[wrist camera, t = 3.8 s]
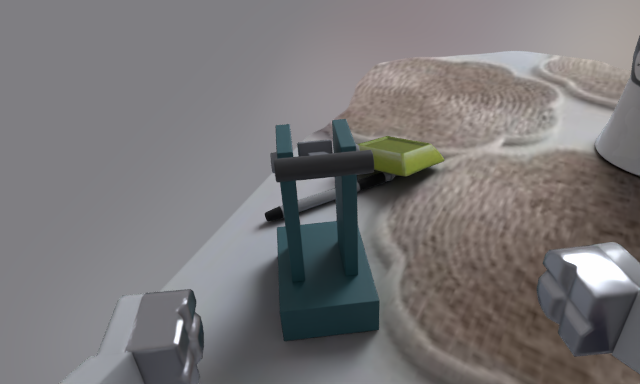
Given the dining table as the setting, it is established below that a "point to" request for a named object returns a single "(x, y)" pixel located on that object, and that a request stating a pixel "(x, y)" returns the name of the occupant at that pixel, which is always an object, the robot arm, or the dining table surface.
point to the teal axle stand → (323, 258)
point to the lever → (322, 162)
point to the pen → (329, 195)
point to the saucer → (401, 155)
